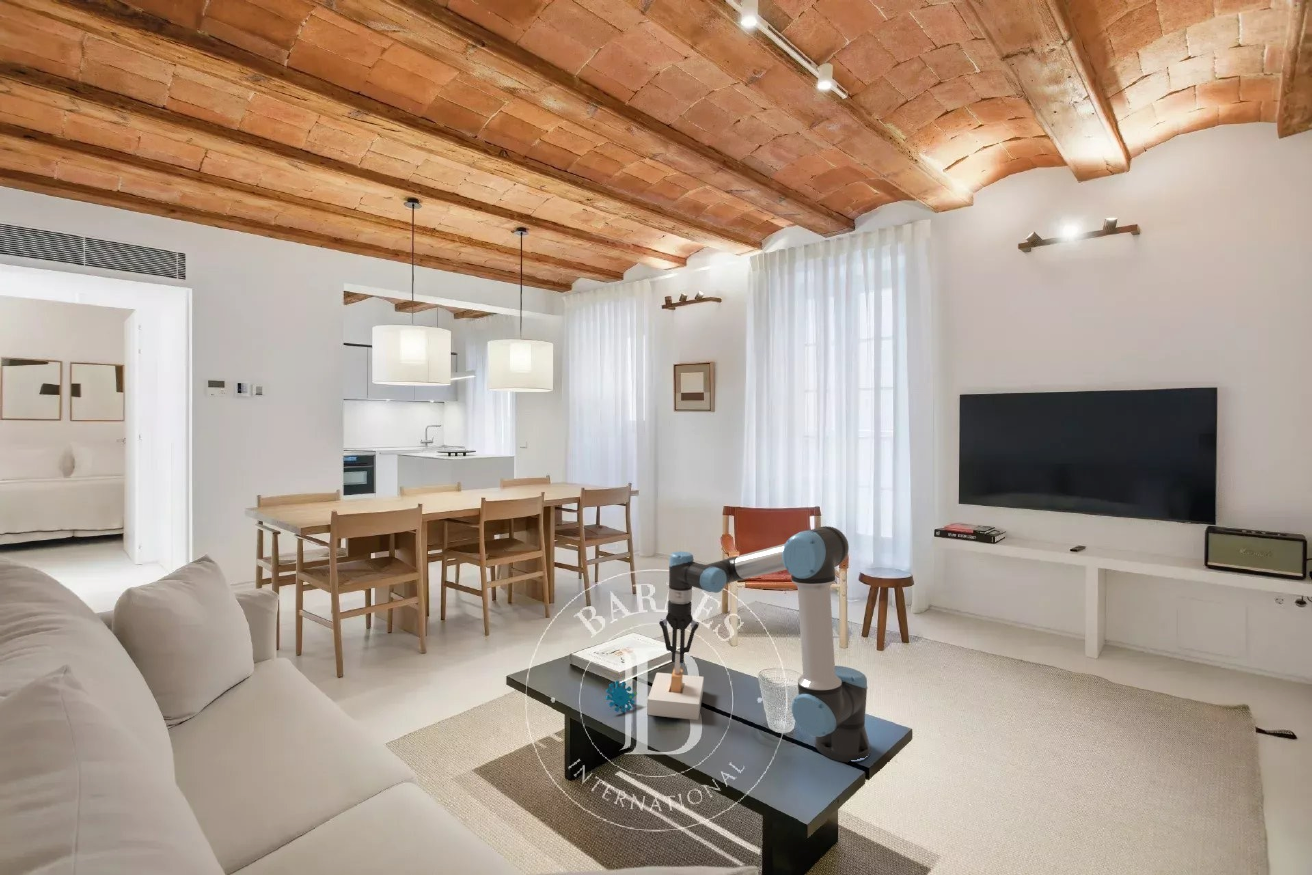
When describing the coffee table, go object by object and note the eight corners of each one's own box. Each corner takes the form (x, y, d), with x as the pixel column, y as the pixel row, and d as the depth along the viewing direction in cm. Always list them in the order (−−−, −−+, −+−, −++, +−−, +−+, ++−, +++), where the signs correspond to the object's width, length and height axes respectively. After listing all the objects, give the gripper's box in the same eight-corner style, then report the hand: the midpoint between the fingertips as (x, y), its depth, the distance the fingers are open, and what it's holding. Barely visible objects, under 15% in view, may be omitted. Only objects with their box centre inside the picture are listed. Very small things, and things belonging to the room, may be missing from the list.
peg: (681, 698, 219) (682, 669, 218) (679, 707, 213) (680, 676, 212) (672, 697, 219) (673, 668, 219) (670, 706, 213) (671, 676, 213)
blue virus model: (611, 712, 205) (604, 680, 211) (603, 719, 208) (596, 688, 214) (642, 709, 211) (634, 678, 217) (633, 716, 214) (626, 686, 220)
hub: (698, 719, 205) (698, 704, 205) (647, 714, 207) (647, 699, 207) (703, 691, 225) (703, 676, 225) (656, 686, 227) (656, 672, 227)
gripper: (658, 602, 211) (655, 674, 213) (699, 605, 209) (696, 678, 211) (661, 595, 218) (659, 665, 220) (701, 598, 216) (698, 668, 218)
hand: (677, 671), depth 215 cm, fingers closed
